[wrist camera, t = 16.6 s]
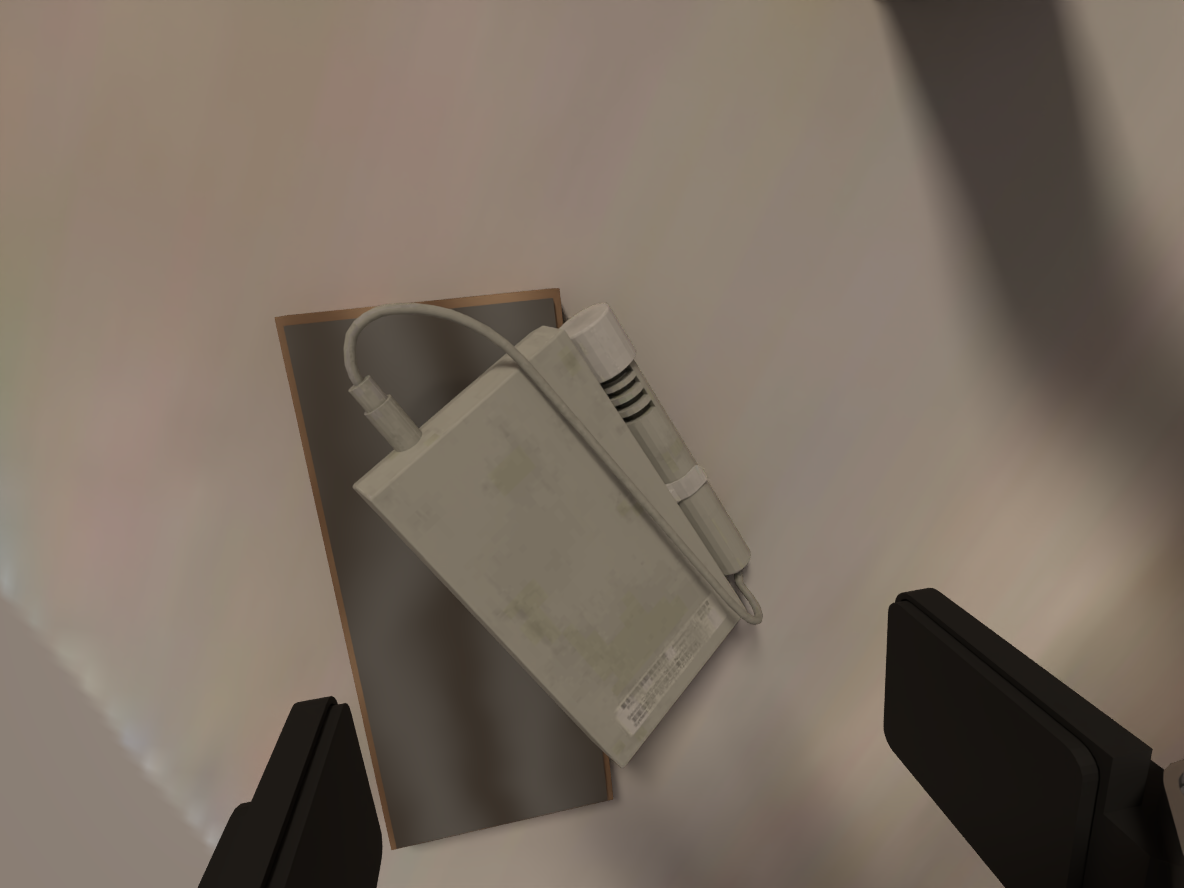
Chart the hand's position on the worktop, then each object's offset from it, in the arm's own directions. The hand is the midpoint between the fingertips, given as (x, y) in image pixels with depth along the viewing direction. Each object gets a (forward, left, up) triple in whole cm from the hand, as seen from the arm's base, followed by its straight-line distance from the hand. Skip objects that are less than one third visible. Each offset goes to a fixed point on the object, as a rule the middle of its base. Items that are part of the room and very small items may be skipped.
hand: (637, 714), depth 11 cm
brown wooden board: (+4, +8, -25) cm, 26 cm away
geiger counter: (+4, +7, -17) cm, 18 cm away
